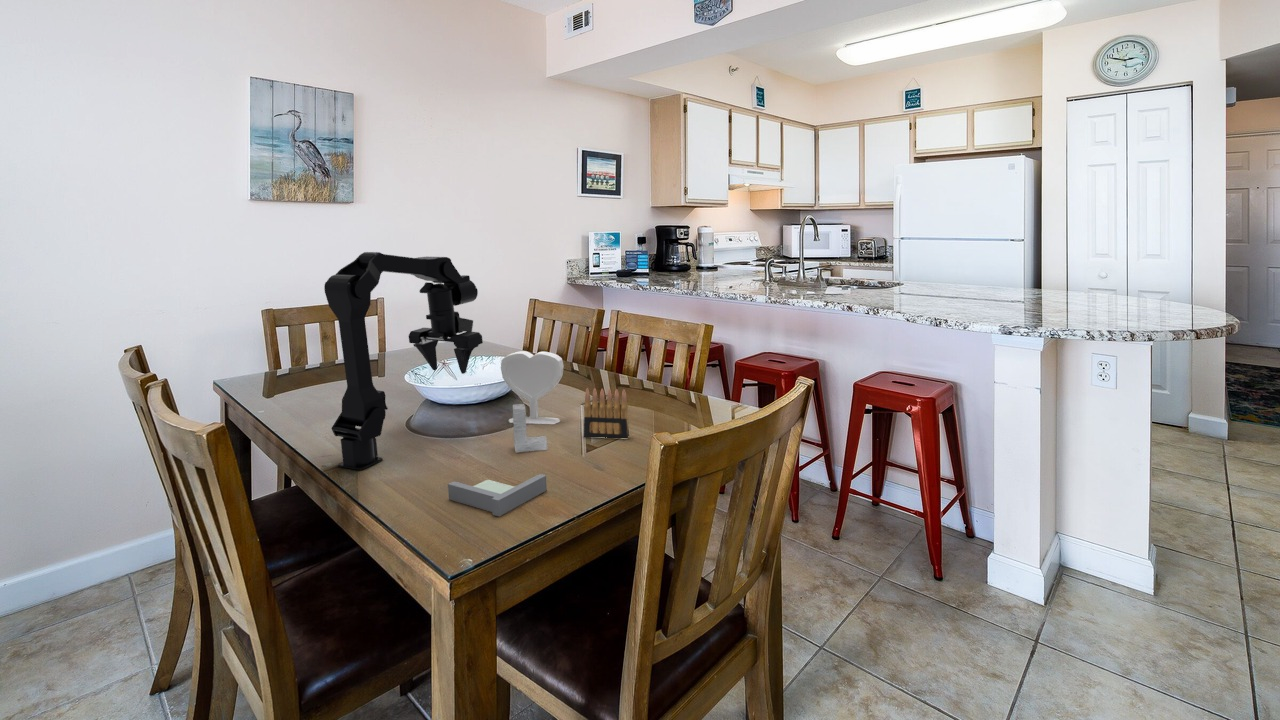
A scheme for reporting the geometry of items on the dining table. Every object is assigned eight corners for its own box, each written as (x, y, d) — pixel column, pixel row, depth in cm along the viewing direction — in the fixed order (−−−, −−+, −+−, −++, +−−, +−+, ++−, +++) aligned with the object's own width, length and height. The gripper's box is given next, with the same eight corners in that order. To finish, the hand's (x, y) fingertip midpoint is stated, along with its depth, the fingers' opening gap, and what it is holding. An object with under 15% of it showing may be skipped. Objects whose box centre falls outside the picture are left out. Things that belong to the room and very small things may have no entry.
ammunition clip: (629, 437, 151) (628, 388, 148) (627, 439, 149) (627, 390, 147) (585, 435, 152) (584, 386, 150) (583, 437, 151) (582, 388, 148)
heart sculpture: (502, 422, 163) (498, 353, 159) (508, 416, 167) (505, 350, 164) (561, 424, 161) (559, 355, 157) (565, 418, 166) (563, 351, 162)
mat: (461, 493, 119) (461, 491, 119) (487, 480, 125) (487, 479, 125) (501, 504, 114) (501, 503, 114) (526, 491, 120) (526, 489, 120)
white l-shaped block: (515, 452, 140) (514, 409, 138) (514, 446, 144) (512, 404, 142) (547, 449, 142) (545, 407, 140) (545, 444, 146) (543, 402, 144)
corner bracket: (445, 500, 116) (444, 485, 115) (495, 477, 126) (494, 462, 126) (499, 516, 109) (498, 500, 108) (546, 490, 120) (546, 475, 119)
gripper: (494, 305, 154) (500, 366, 159) (436, 301, 162) (443, 359, 167) (463, 313, 145) (470, 378, 149) (403, 309, 153) (411, 371, 157)
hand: (449, 371), depth 156 cm, fingers open, 9 cm apart
